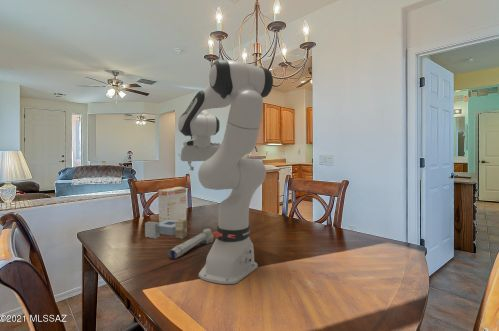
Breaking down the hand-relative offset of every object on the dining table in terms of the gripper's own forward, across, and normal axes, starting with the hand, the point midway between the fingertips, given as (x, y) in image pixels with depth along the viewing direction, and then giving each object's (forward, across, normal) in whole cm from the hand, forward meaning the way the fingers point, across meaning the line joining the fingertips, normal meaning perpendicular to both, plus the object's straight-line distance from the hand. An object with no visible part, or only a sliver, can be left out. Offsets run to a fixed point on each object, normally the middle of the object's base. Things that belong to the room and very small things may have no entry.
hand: (201, 170), depth 134 cm
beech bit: (+32, +10, +4) cm, 34 cm away
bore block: (+32, +15, -7) cm, 36 cm away
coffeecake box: (+33, +13, -26) cm, 44 cm away
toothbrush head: (+32, +7, +22) cm, 39 cm away
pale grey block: (+32, +24, 0) cm, 40 cm away
